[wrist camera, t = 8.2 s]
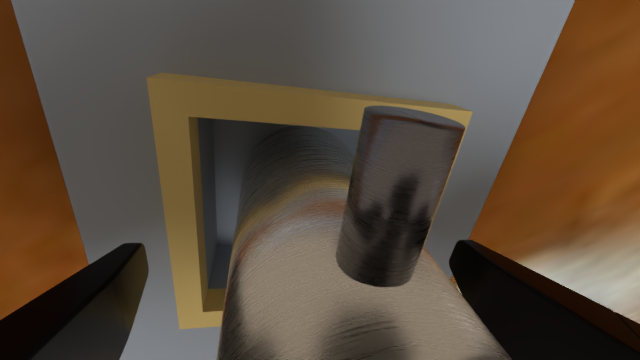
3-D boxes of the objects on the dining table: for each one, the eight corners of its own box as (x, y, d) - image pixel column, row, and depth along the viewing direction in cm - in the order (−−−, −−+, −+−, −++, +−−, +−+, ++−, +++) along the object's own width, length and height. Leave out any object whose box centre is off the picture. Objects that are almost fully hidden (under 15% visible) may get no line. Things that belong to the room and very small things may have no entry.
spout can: (345, 227, 14) (461, 492, 6) (241, 227, 12) (205, 554, 5) (376, 73, 11) (718, 178, 3) (244, 56, 9) (156, 144, 2)
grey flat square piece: (394, 290, 18) (431, 363, 14) (150, 302, 15) (110, 399, 11) (495, -7, 11) (626, -31, 7) (76, -97, 8) (-111, -228, 4)
